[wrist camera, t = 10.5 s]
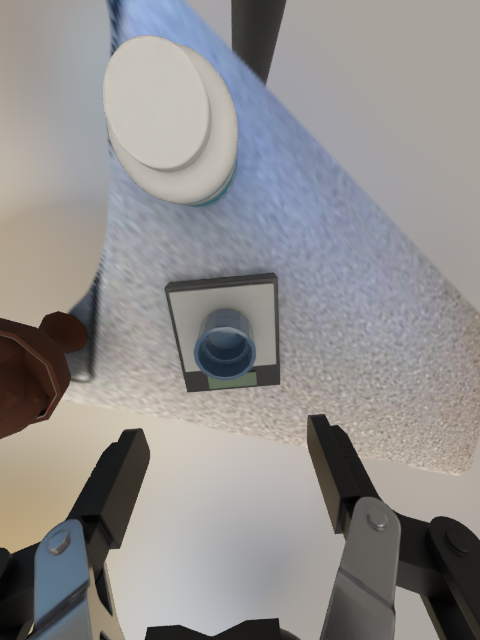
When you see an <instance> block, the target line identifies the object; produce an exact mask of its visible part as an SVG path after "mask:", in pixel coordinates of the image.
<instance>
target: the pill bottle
mask: <svg viewBox="0 0 480 640" xmlns="http://www.w3.org/2000/svg"><path fill="white" fill-rule="evenodd" d="M103 103H104V110H105V114H106V121H107V129H108V133H109V138H110V141H111V144H112V147H113V149H114V152H115V154H116V156H117V158H118V160H119V162H120V163H121V165H122V167H123V168H124V170H125V171H126V173H127V174H128V175H129V176H130V178H131V179H132V180H133V181H134V182H135V183H136V184H137V185H138V186H139V187H141V188H142V189H143V190H144V191H146V192H147V193H149V194H151V195H152V196H154V197H156V198H158V199H161V200H164V201H167V202H171V203H176V204H182V205H187V206H193V207H205V206H209V205H212V204H214V203H216V202H218V201H219V200H220V199H222V198H223V197H224V196H225V195H226V193H227V192H228V191H229V189H230V187H231V185H232V183H233V181H234V177H235V173H236V166H237V149H238V121H237V115H236V111H235V107H234V103H233V100H232V98H231V95H230V93H229V90H228V88H227V86H226V84H225V82H224V81H223V79H222V77H221V76H220V75H219V73H218V72H217V71H216V69H215V68H214V67H213V66H212V65H211V64H210V63H209V62H208V61H207V60H206V59H205V58H204V57H203V56H202V55H200V54H199V53H197V52H196V51H194V50H193V49H191V48H189V47H186V46H184V45H181V44H178V43H174V42H171V41H169V40H167V39H165V38H162V37H159V36H153V35H142V36H138V37H134V38H132V39H129V40H128V41H126V42H125V43H123V44H122V45H121V46H120V47H119V48H118V49H117V50H116V51H115V53H114V54H113V56H112V57H111V59H110V61H109V63H108V65H107V68H106V71H105V75H104V81H103Z"/></svg>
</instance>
